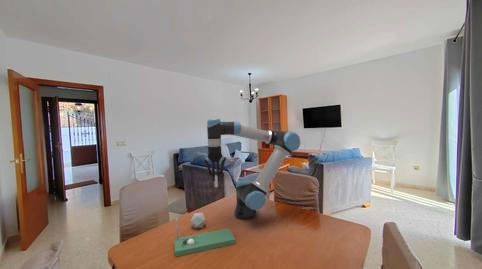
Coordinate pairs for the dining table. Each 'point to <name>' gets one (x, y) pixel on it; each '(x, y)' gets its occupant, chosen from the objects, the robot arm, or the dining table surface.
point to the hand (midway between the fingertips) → (216, 186)
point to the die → (198, 220)
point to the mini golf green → (203, 241)
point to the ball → (190, 242)
